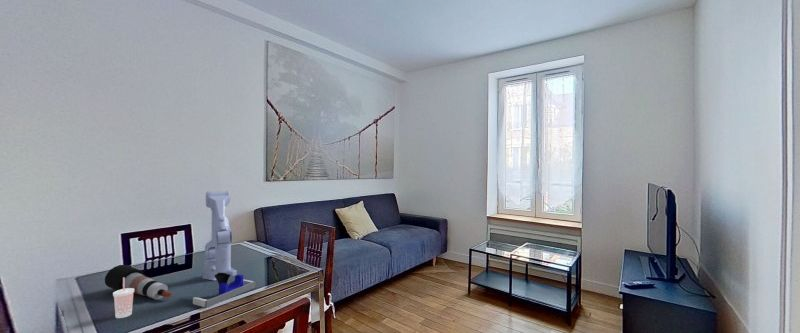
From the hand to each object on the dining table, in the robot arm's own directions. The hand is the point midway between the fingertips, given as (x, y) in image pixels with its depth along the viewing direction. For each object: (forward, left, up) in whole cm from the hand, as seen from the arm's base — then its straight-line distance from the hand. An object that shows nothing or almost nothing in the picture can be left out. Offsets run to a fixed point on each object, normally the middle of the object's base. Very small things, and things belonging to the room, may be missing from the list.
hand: (223, 289), depth 136 cm
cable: (-32, -14, -2) cm, 35 cm away
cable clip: (+2, +2, -2) cm, 3 cm away
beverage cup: (-16, -28, -2) cm, 32 cm away
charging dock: (+2, 0, -2) cm, 3 cm away
